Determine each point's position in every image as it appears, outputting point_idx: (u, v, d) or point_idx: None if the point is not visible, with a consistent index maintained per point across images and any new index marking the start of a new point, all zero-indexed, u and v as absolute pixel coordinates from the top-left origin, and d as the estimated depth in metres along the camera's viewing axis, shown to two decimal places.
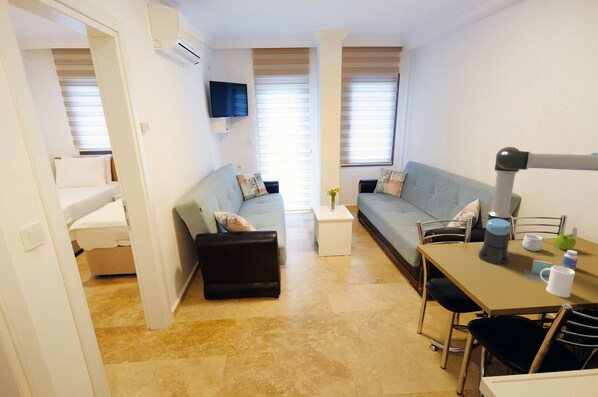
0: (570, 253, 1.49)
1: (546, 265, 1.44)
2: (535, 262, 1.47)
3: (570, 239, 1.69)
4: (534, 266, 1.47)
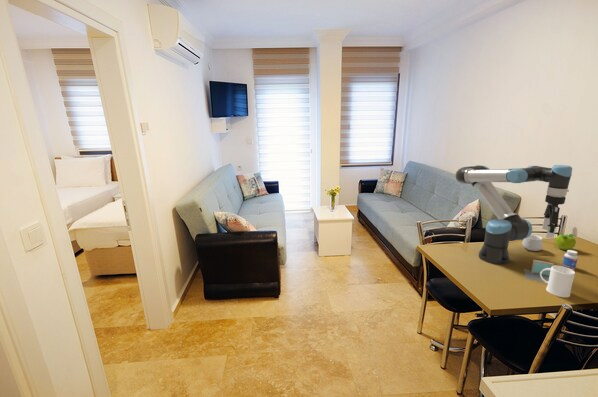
0: (570, 253, 1.49)
1: (546, 265, 1.44)
2: (535, 262, 1.47)
3: (570, 239, 1.69)
4: (534, 266, 1.47)
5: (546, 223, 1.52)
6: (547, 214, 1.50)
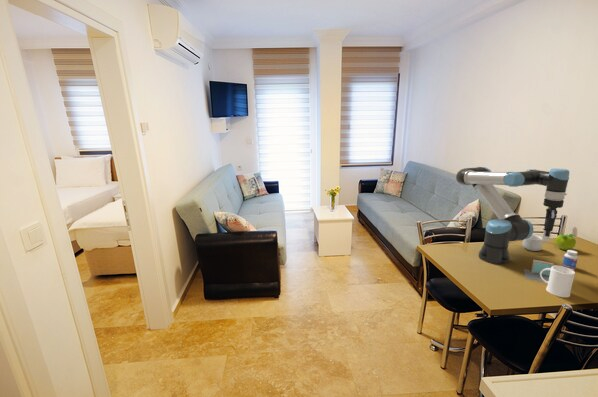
0: (570, 253, 1.49)
1: (546, 265, 1.44)
2: (535, 262, 1.47)
3: (570, 239, 1.69)
4: (534, 266, 1.47)
5: None
6: (547, 222, 1.47)
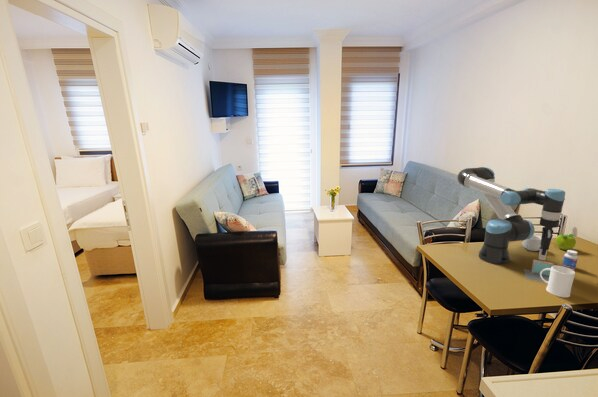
0: (570, 253, 1.49)
1: (546, 265, 1.44)
2: (535, 262, 1.47)
3: (570, 239, 1.69)
4: (534, 266, 1.47)
5: None
6: None
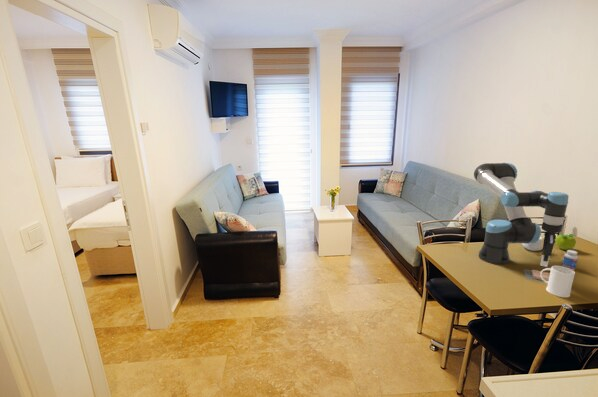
0: (570, 253, 1.49)
1: None
2: (534, 277, 1.44)
3: (570, 239, 1.69)
4: None
5: None
6: None
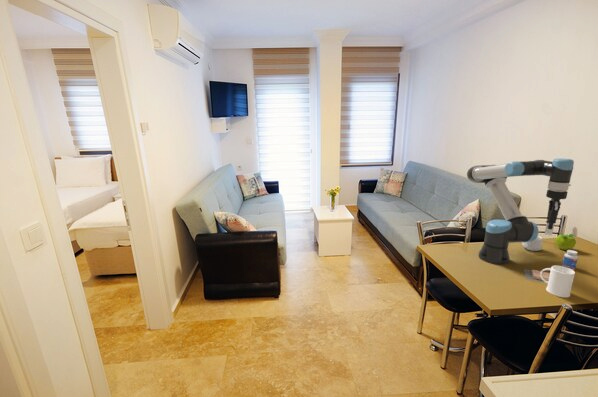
0: (570, 253, 1.49)
1: None
2: (534, 277, 1.44)
3: (570, 239, 1.69)
4: None
5: None
6: None
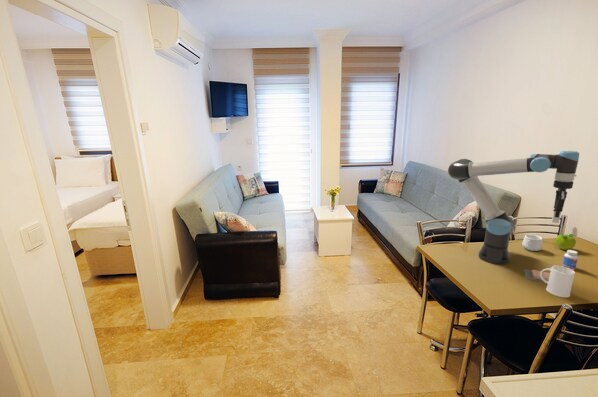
0: (570, 253, 1.49)
1: None
2: (534, 277, 1.44)
3: (570, 239, 1.69)
4: None
5: None
6: None
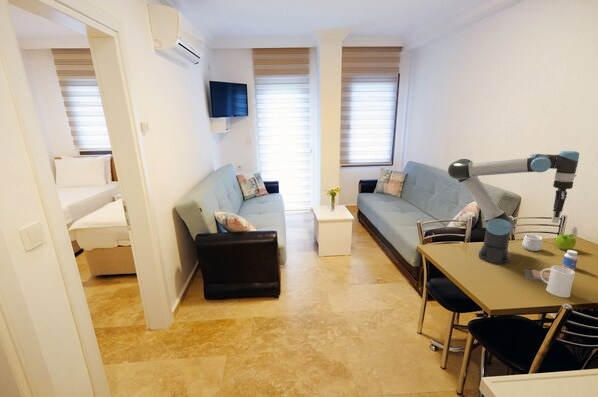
0: (570, 253, 1.49)
1: None
2: (534, 277, 1.44)
3: (570, 239, 1.69)
4: None
5: None
6: None
